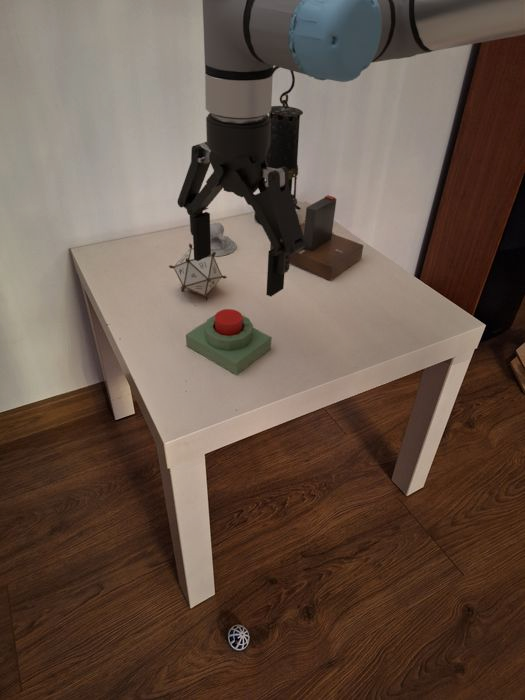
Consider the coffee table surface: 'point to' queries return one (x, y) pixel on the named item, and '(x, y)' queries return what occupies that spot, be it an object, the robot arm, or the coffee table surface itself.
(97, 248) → the coffee table surface
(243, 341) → the button block
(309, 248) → the dark grey block
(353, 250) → the block
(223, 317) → the button
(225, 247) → the miniature
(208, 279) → the game die
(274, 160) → the lantern
